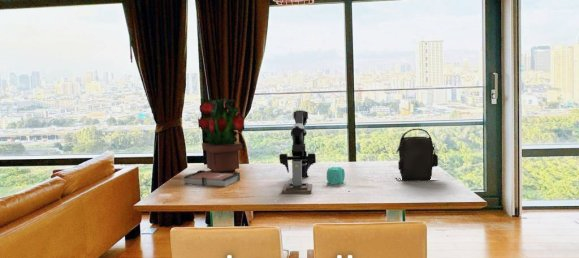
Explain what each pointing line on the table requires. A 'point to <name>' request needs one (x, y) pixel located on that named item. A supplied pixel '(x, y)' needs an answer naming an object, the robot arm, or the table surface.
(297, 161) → the block
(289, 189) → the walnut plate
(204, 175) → the book
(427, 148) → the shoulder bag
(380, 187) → the table surface
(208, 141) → the potted plant
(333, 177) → the decorative dice
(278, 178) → the table surface
